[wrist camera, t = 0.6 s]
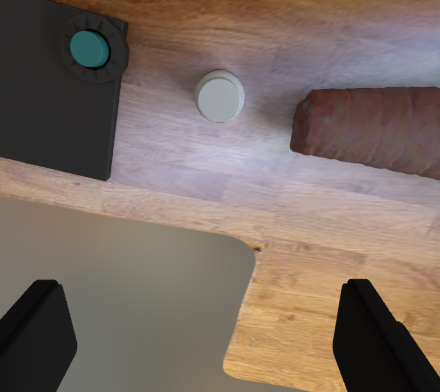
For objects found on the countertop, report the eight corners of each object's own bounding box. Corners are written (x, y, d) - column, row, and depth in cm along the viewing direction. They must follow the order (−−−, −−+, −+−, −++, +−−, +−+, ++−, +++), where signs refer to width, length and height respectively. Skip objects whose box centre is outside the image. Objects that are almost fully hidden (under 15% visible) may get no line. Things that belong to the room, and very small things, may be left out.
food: (504, 84, 31) (603, 92, 23) (472, 174, 35) (549, 208, 27) (290, 82, 31) (314, 89, 23) (282, 171, 35) (300, 205, 27)
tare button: (78, 28, 28) (70, 26, 26) (110, 37, 28) (104, 35, 26) (76, 62, 29) (68, 62, 27) (107, 70, 29) (101, 70, 27)
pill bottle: (245, 110, 33) (250, 123, 25) (204, 118, 33) (198, 133, 26) (238, 65, 31) (241, 65, 24) (194, 74, 31) (185, 77, 24)
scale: (-2, -13, 29) (-27, -21, 26) (137, 25, 30) (127, 21, 27) (2, 152, 35) (-17, 160, 32) (117, 179, 36) (108, 188, 33)
